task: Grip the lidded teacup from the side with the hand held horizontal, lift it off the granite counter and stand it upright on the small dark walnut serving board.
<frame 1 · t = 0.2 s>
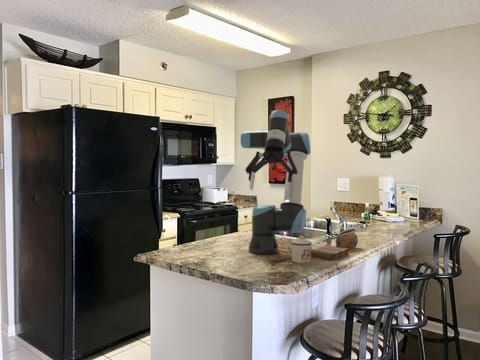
hand: (268, 188, 146), 35 cm above the table, tool tilted 35°, fingers open, 13 cm apart
teacup with lid: (303, 261, 178), on the table
board: (329, 255, 188), on the table
tin: (346, 249, 203), on the table
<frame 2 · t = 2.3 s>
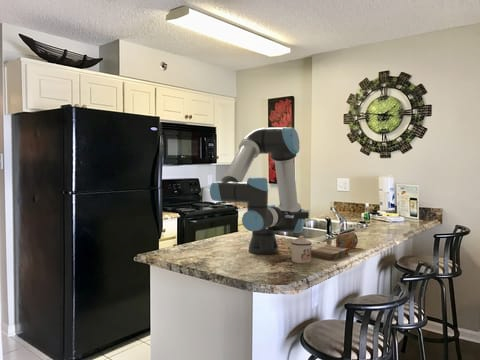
hand: (294, 211, 169), 24 cm above the table, tool horizontal, fingers open, 13 cm apart
nothing on the table moved.
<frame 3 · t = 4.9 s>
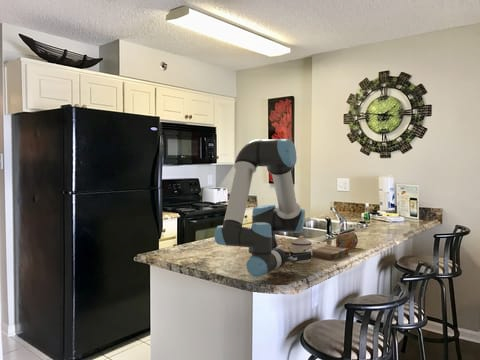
hand: (297, 249, 172), 6 cm above the table, tool horizontal, fingers open, 13 cm apart
nothing on the table moved.
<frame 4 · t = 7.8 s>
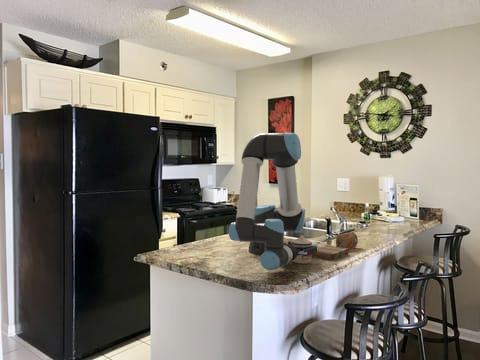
hand: (307, 244, 182), 7 cm above the table, tool horizontal, fingers closed on teacup with lid, 9 cm apart
teacup with lid: (303, 261, 178), on the table, touching gripper
everything else where it was.
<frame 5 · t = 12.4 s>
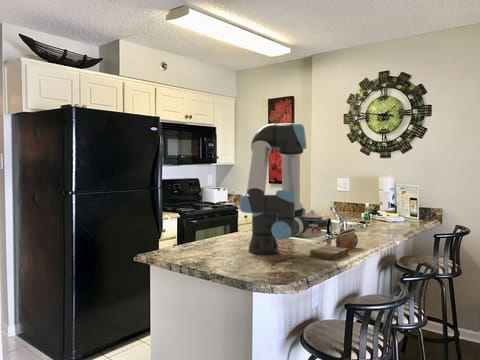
hand: (317, 219, 183), 18 cm above the table, tool horizontal, fingers closed on teacup with lid, 9 cm apart
teacup with lid: (313, 235, 180), point 11 cm above the table, touching gripper
everything else where it was.
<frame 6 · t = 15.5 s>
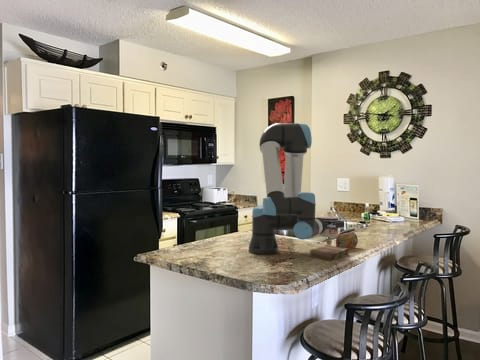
hand: (333, 221, 191), 16 cm above the table, tool horizontal, fingers closed on teacup with lid, 9 cm apart
teacup with lid: (330, 236, 187), point 10 cm above the table, touching gripper
everything else where it was.
when the fingers open (10 cm above the table, at t = 17.3 s): teacup with lid moves 3 cm, point 3 cm above the table.
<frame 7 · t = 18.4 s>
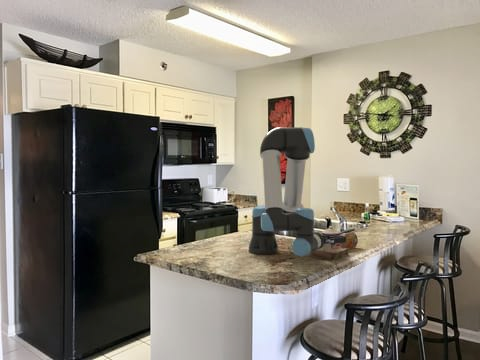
hand: (330, 234, 189), 10 cm above the table, tool horizontal, fingers open, 13 cm apart
teacup with lid: (334, 250, 185), point 3 cm above the table, touching gripper
everything else where it was.
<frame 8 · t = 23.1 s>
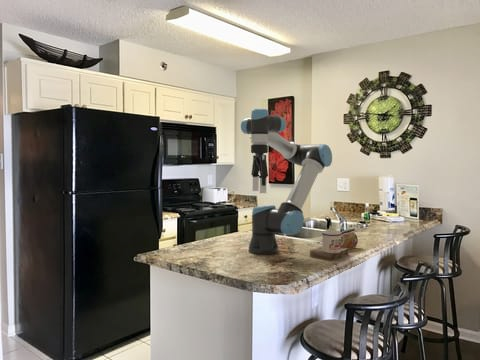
hand: (259, 192, 173), 32 cm above the table, tool pointing down, fingers open, 13 cm apart
teacup with lid: (334, 251, 184), point 3 cm above the table, touching board
everything else where it was.
at the end: teacup with lid 4.2 cm from the board (horizontally); teacup with lid touching board; teacup with lid tilted 1° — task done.
